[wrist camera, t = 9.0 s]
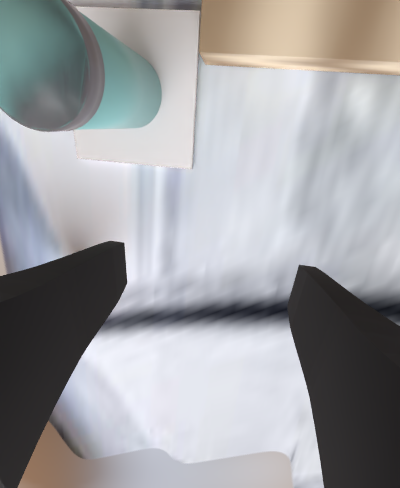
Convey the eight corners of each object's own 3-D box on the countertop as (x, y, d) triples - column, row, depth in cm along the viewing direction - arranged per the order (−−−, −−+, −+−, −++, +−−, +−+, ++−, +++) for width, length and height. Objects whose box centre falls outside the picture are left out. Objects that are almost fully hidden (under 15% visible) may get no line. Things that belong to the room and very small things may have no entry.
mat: (200, 13, 15) (199, 10, 14) (192, 168, 19) (191, 169, 18) (59, 8, 16) (55, 5, 15) (80, 157, 20) (77, 158, 19)
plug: (163, 54, 16) (84, -23, 7) (161, 132, 18) (96, 138, 9) (95, 48, 16) (-51, -32, 8) (100, 125, 18) (-12, 124, 10)
